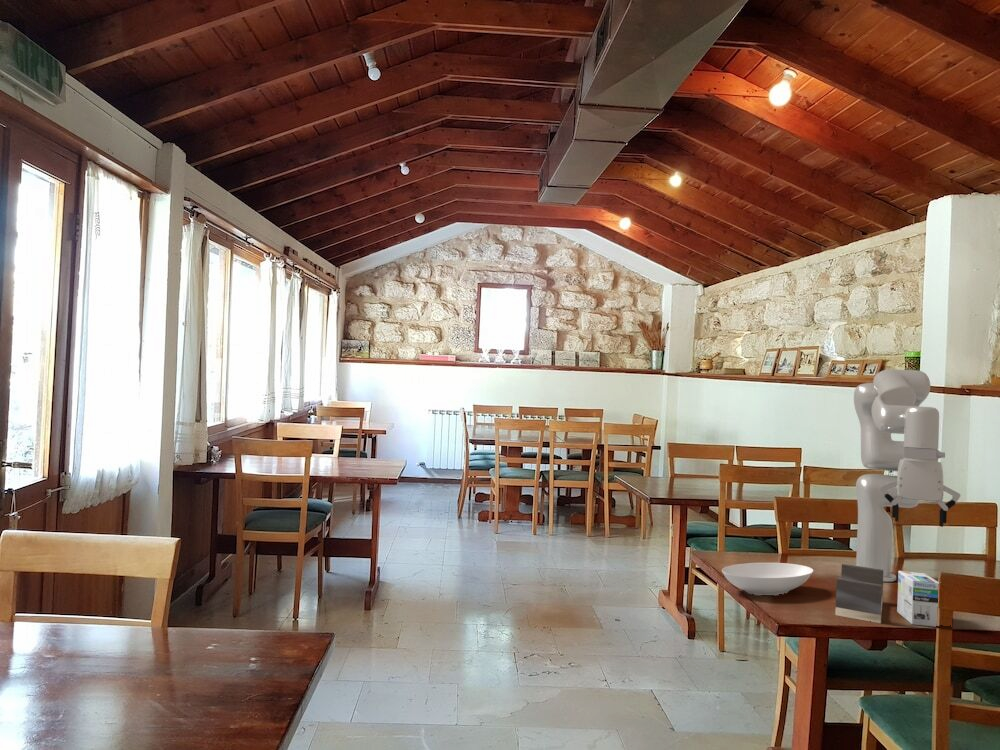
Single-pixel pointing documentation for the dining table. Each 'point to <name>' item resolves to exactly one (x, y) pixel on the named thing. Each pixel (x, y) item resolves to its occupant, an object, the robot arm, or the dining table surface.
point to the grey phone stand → (859, 593)
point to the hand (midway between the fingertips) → (918, 523)
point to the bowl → (767, 577)
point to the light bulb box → (917, 598)
